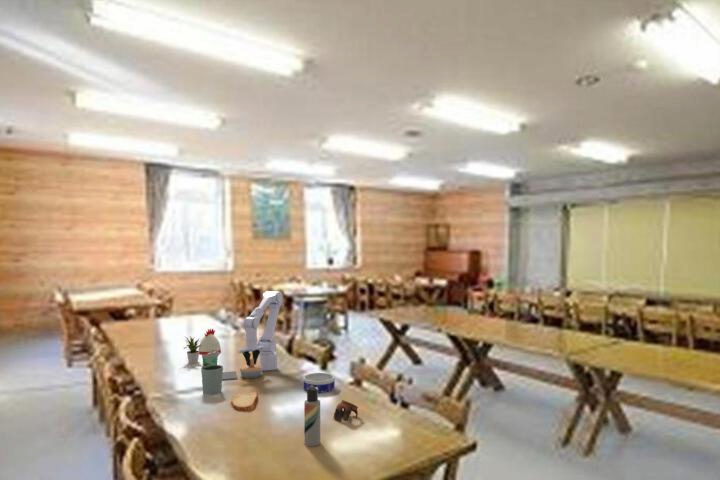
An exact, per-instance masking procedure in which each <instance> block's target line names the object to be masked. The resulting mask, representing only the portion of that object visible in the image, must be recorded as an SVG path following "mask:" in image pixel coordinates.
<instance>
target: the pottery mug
mask: <svg viewBox="0 0 720 480" xmlns="http://www.w3.org/2000/svg"><path fill="white" fill-rule="evenodd" d="M358 408H359V406H357V405H355V404H354V403H352V402H349V401H347V400H344V399H342V400H341V402H339V403H338V404H337V405H336V408H335V410H334V413H333V420H335V421H338V422H340V423H342V420H343V421H345V422H347V421H349V419H350V415H351V414H352V412H353V413H354V414H355V418H358V415H359V412H358Z"/></svg>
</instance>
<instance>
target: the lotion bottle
mask: <svg viewBox="0 0 720 480" xmlns="http://www.w3.org/2000/svg"><path fill="white" fill-rule="evenodd" d="M318 398H319V393H318V388H317V387H308V389H307V392H306V400H304V405H303V406H304V409H303V412H304V417H303V418H304V419H303V420H304V424H303V426H304V428H303V429H304V430H303V431H304V434H303V437H304V438H303V439H304V445H305V446H307V447H317V446H320V444H321V400H320V399H318Z"/></svg>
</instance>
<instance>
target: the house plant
mask: <svg viewBox="0 0 720 480" xmlns="http://www.w3.org/2000/svg"><path fill="white" fill-rule="evenodd" d="M183 337H185V338H186V341H187V344H186V345H185V346H184V347H183V350H184V349H188V351H187V352H186V354H187V356H186V357H187V360H188V363H189V364H196V363H198V362H199V357H200V354H199V351H198V349H199V346H201V345H200V341H201V340H202V339H203V338H202V339H200V338H198V339H196V340H195V341H194V339H195V335H194V336H193V338H192V337H191V335H190V336H189V337H190V339H189V338H188V337H186V336H183ZM199 340H200V341H199ZM202 347H203V346H202Z"/></svg>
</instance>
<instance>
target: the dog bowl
mask: <svg viewBox="0 0 720 480" xmlns="http://www.w3.org/2000/svg"><path fill="white" fill-rule="evenodd" d="M335 380H336V377H335V375H334V374H333V373H329V372H328V373H327V372H312V373H308V374H305V375H304V376H303V382H302V383H303V391H304V392H306V393H307V389H308V387H317V388H318V394H326V393H330V392H332V390H333V391H334V390H335V383H336V381H335Z"/></svg>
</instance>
